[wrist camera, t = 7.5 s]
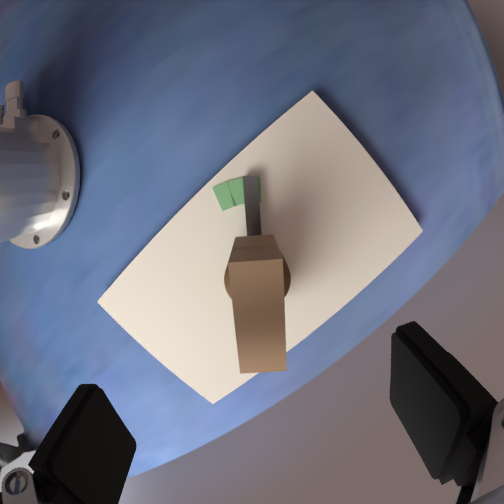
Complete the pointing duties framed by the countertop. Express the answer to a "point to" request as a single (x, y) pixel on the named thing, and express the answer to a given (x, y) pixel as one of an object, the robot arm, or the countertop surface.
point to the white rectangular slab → (272, 222)
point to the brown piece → (258, 291)
